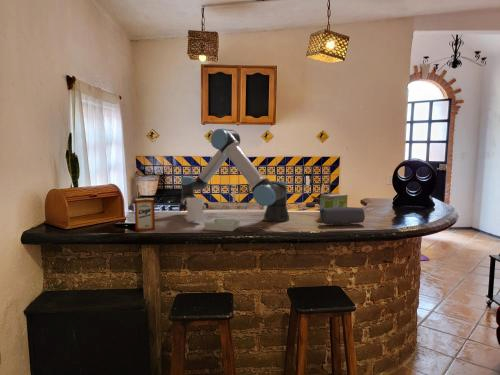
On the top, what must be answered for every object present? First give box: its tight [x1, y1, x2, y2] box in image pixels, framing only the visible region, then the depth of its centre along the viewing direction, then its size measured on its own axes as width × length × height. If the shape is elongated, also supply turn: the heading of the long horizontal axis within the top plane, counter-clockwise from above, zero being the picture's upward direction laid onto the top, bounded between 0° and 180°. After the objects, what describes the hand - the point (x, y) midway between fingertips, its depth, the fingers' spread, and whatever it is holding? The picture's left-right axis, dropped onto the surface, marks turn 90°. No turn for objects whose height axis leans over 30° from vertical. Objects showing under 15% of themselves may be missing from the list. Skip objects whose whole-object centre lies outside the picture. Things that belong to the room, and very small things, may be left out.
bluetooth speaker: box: [319, 206, 365, 226], centre depth 200 cm, size 23×9×10 cm, turn 100°
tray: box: [204, 217, 241, 232], centre depth 192 cm, size 15×15×4 cm
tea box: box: [318, 193, 348, 219], centre depth 220 cm, size 15×10×15 cm, turn 131°
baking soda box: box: [134, 197, 156, 232], centre depth 186 cm, size 10×6×16 cm
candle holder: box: [186, 197, 205, 222], centre depth 201 cm, size 10×10×12 cm
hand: (196, 208), depth 197 cm, fingers closed on candle holder, 9 cm apart
